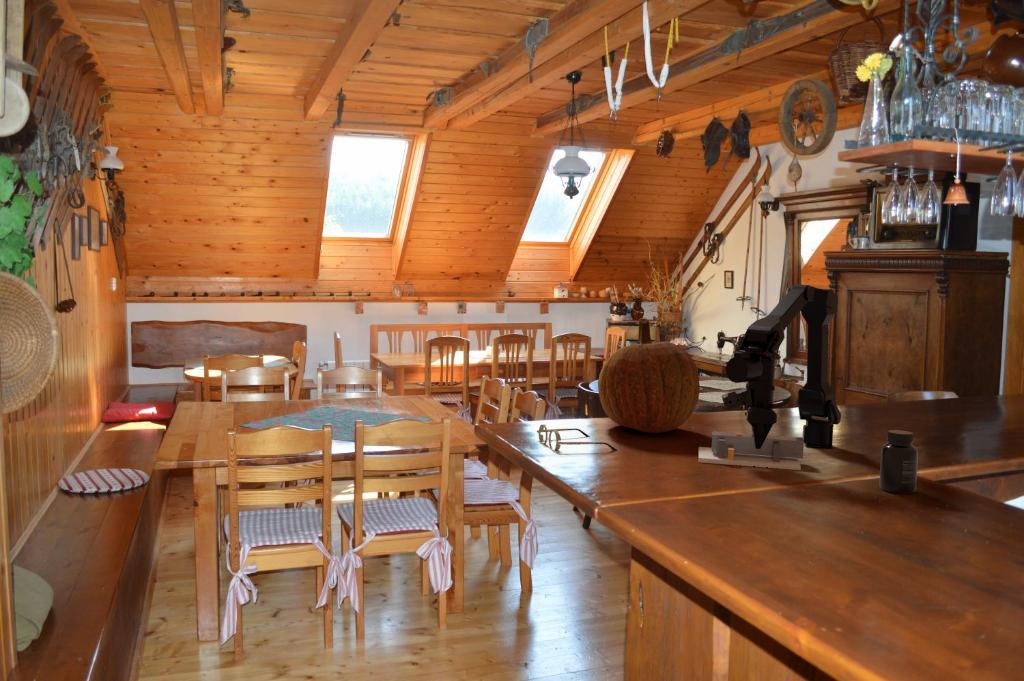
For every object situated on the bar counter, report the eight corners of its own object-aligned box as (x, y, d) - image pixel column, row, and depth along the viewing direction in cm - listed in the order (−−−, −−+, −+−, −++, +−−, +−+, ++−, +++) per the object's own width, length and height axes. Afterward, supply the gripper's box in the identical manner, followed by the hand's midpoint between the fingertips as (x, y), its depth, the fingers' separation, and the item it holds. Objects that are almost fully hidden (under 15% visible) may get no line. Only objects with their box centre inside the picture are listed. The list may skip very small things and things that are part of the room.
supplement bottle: (913, 487, 172) (917, 430, 170) (917, 496, 165) (922, 436, 164) (877, 484, 174) (881, 427, 173) (880, 492, 167) (884, 433, 166)
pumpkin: (575, 423, 231) (579, 315, 228) (658, 418, 242) (662, 315, 239) (626, 443, 206) (631, 323, 203) (716, 437, 217) (722, 322, 214)
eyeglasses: (534, 440, 209) (534, 420, 209) (589, 437, 214) (590, 418, 214) (559, 455, 193) (560, 434, 193) (618, 452, 198) (619, 431, 198)
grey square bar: (800, 454, 191) (802, 436, 191) (802, 458, 187) (803, 439, 187) (711, 448, 196) (712, 430, 195) (711, 451, 192) (712, 433, 192)
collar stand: (794, 458, 196) (795, 437, 195) (800, 470, 184) (801, 447, 183) (698, 450, 200) (699, 430, 200) (698, 462, 189) (699, 440, 188)
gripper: (723, 372, 201) (720, 436, 202) (725, 383, 183) (722, 452, 184) (771, 375, 198) (768, 439, 200) (778, 386, 180) (774, 456, 182)
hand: (757, 446), depth 191 cm, fingers closed on grey square bar, 4 cm apart
